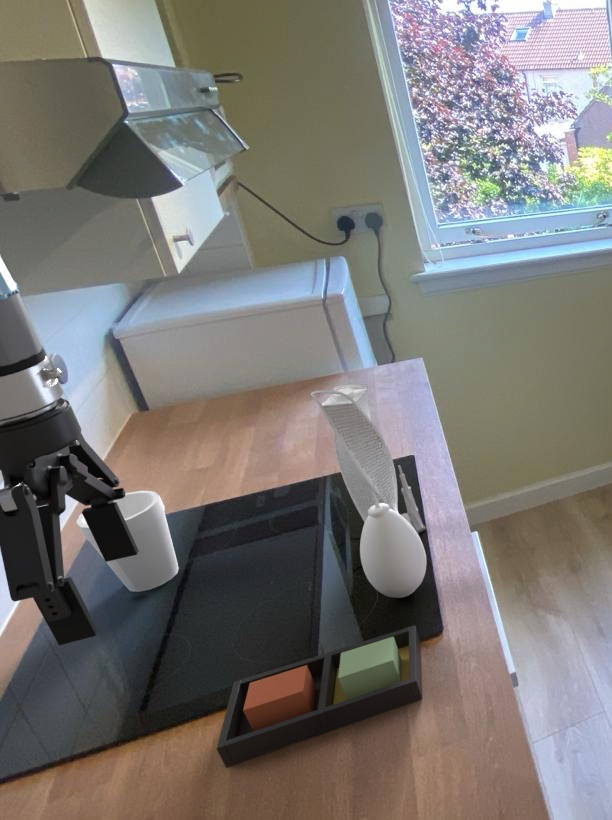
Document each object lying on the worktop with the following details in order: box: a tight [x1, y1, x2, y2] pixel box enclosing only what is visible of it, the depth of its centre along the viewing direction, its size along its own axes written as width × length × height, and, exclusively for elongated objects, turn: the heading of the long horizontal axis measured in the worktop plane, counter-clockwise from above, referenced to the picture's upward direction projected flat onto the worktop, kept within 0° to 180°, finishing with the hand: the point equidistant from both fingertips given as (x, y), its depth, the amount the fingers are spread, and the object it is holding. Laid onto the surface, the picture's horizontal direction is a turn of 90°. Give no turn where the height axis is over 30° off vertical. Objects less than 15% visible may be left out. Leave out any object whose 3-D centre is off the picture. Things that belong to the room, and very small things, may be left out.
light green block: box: [338, 637, 401, 700], centre depth 92 cm, size 6×4×4 cm
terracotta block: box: [243, 665, 316, 731], centre depth 89 cm, size 6×4×4 cm
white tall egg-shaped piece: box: [359, 492, 427, 599], centre depth 105 cm, size 8×8×18 cm
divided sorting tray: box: [215, 625, 423, 768], centre depth 91 cm, size 20×11×3 cm, turn 116°
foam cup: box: [75, 490, 180, 593], centre depth 111 cm, size 10×9×13 cm
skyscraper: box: [310, 384, 427, 535], centre depth 117 cm, size 8×8×28 cm
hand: (102, 594), depth 75 cm, fingers open, 13 cm apart
